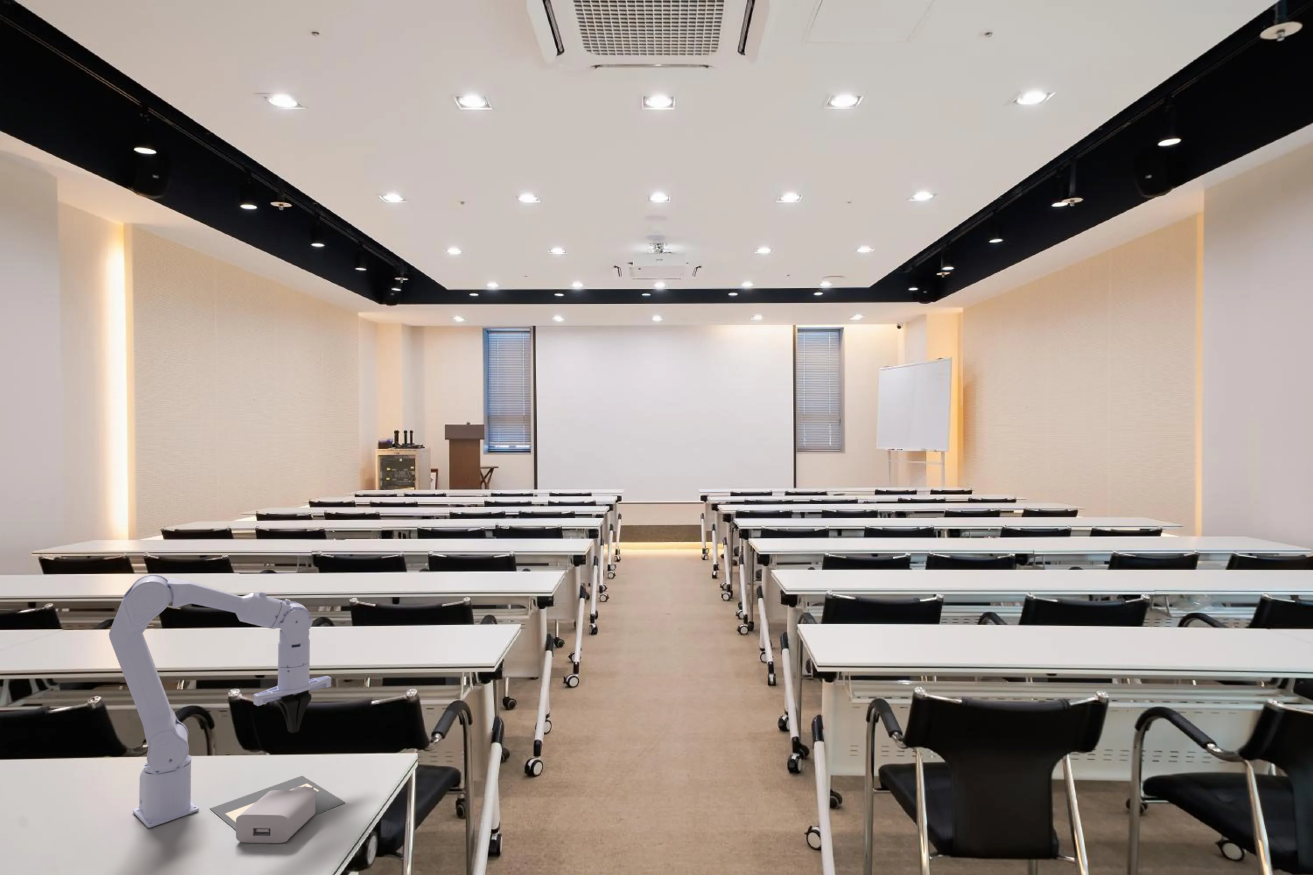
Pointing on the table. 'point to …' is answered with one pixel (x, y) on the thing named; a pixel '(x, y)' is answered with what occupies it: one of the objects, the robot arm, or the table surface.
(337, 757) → the table surface
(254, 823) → the charger
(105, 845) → the table surface
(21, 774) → the table surface
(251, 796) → the label mat
